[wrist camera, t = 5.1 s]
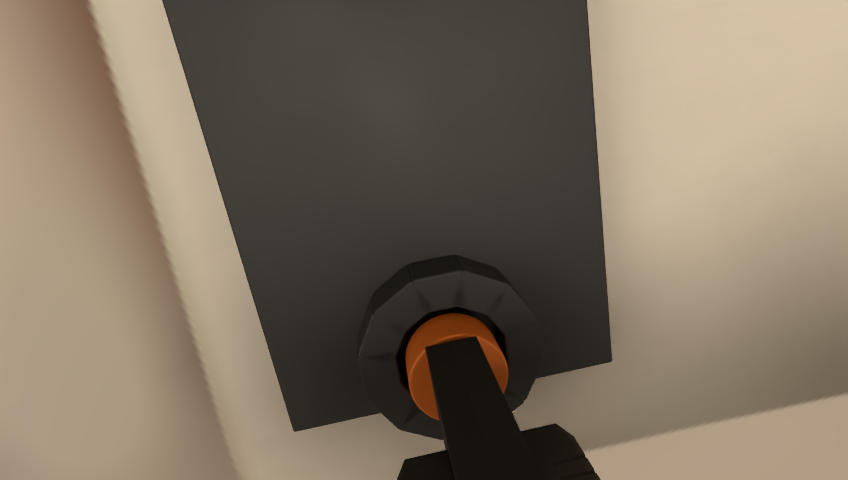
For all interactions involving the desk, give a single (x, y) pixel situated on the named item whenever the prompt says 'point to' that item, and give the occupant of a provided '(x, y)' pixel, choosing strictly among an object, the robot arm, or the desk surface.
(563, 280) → the scale
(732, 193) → the desk surface
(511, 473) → the robot arm
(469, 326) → the button
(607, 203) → the desk surface
